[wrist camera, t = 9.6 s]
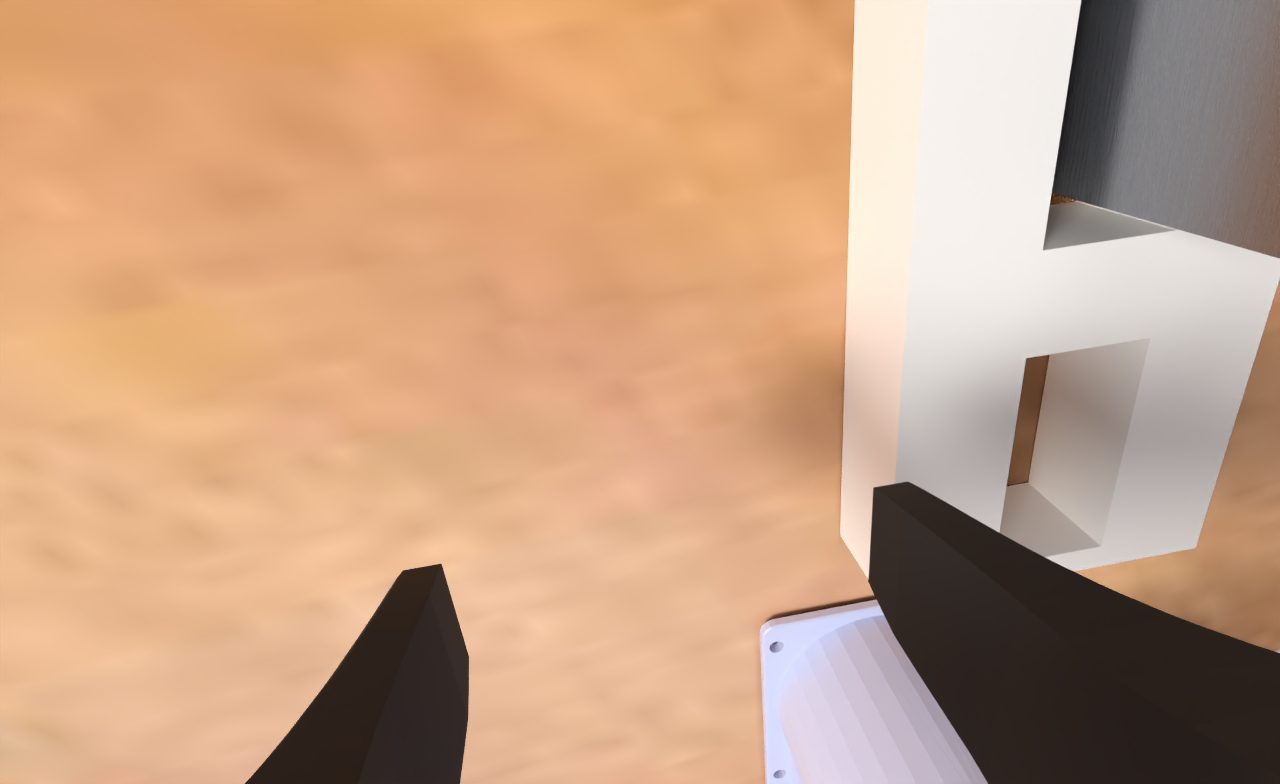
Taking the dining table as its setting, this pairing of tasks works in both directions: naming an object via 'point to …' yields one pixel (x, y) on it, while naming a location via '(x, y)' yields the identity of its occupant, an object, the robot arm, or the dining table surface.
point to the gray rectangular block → (1177, 116)
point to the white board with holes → (1024, 301)
